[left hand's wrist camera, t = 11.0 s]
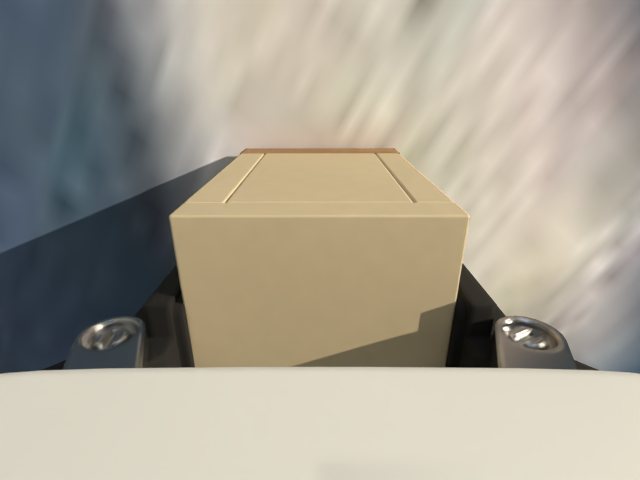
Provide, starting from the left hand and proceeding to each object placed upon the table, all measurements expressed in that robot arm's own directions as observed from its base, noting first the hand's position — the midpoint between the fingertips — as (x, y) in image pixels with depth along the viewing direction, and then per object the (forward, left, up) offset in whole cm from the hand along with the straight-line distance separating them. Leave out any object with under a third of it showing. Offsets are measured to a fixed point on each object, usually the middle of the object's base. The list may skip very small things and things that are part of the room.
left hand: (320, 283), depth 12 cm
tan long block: (-1, +7, -5) cm, 9 cm away
